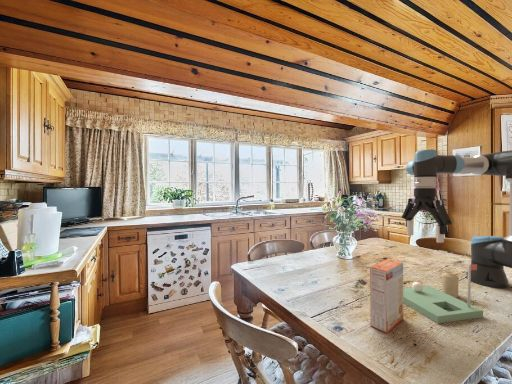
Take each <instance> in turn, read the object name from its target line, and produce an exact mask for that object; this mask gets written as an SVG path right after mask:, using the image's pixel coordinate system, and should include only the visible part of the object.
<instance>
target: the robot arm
mask: <svg viewBox="0 0 512 384" xmlns="http://www.w3.org/2000/svg"><path fill="white" fill-rule="evenodd" d="M413 156H414V158H413V160H410V161H408V162H407V164H406V172H407V173H408V175H411V176H413V187H415V188H414V189H413V197H414V198H410V197H409V198H407V204H406V207H405V209H404V210H403V212H402V216H401V218H402V219H403V220H405V227H406V236H414V226H415V225H414V218H415V217H416V215H417V214H418V213H419V212H420V211H427V212H429V213H430V214H431V216H432V218H433V219H434V220H435V221H436V223H437V225H436V235H435V236H436V240H435V241H436V243H437V244H438V243H439V244H440V243H444V242H445V235H446V234H447V226H450V225H452V224H453V223H452V219H451V218H450V216H449V214H448V212H447V210H446V207H445V204H444V200H443V199H435V198H436V197H437V189H436V187H437V175H451V174H453V175H454V174H473V175H476V176H477V175H478V176H482V175H484V176H495V177H496V176H497V177H498V176H499V177H502V176H505V180H506V181H507V182H509V184H510V185H509V186H510V187H509V205H508V206H509V207H508V208H509V211H508V232H507V234H508V235H507V236H505V237H503V236H496V235H473V237H471V242H470V260H471V261H470V265H475V264H477V270H471V282H472V283H475V284H478V285H481V286H485V287H491V288H498V289H499V288H501V289H505V288H509V287H510V286H509V285H510V284H509V282H510V281H509V279H508V277H507V275H506V274H507V273H506V272H505V269H504V267H505V268H509V269H512V149H511V150H505V151H504V150H502V151H498V152H497V151H496V152H491V153H486V154H481V155H480V154H478V155H474V156H471V157H462V156H459V155H454V154H453V155H448V154H447V155H446V154H444V155H441V154H440V155H439V154H438V151H437V150H436V149H432V148H430V149H420V150H417V151H415V152H414V155H413ZM466 279H467V280H468V270H467V271H466Z"/></svg>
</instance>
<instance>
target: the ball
mask: <svg viewBox="0 0 512 384" xmlns="http://www.w3.org/2000/svg"><path fill="white" fill-rule="evenodd" d="M423 286H424V285H423V284H422V283H421V282H419V281H414V282H412V285H411V287H412V288H413V289H414V290H415V291H417V292H420V291H422V290H423Z"/></svg>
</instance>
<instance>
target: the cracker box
mask: <svg viewBox="0 0 512 384" xmlns="http://www.w3.org/2000/svg"><path fill="white" fill-rule="evenodd" d="M369 285H370V286H369V291H370V292H369V295H370V298H369V299H370V300H369V301H370V303H369V304H370V307H369V309H370V326H371V327H372V328H375V329H377V330H379V331H381V332H384V333H386V334H388V333H389V332H390V331H392V329H394V328H395V327H396V325H398V324H399V323H400V322H401V321H402V320H403V319H404V303H403V288H404V262H403V261H398V260H393V259H390V258H386V259H385V260H383V261H380V262H378V263H377V264H374V265H372V266H369Z"/></svg>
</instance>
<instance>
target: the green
mask: <svg viewBox="0 0 512 384" xmlns="http://www.w3.org/2000/svg"><path fill="white" fill-rule="evenodd" d="M471 270H477V264H475V265H471V264H468V265H467V271H468V279H467V301H466V302H465V301H464V300H462V299H459V298H458V297H452V296H450V295H448V294H446V293H444V292H442V290H439V289H437V288H434V287H433V286H430V285H423V290H422V291H420V292H417V291H415V290H414V289H413V288H412V286H411V287H403V304H405V305H407V306H408V307H410V308H411V309H413V310H414V311H416V312H418V313H419V314H421V315H422V316H424V317H427V318H428V319H430V320H432V321H433V322H434V323H436V324H442V323H450V322H458V321H464V320H473V319H479V318H484V310H483V309H481V308H478V307H477V306H474V305H472V304H471V288H472V287H471V286H472V285H471V282H472V281H471Z"/></svg>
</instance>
